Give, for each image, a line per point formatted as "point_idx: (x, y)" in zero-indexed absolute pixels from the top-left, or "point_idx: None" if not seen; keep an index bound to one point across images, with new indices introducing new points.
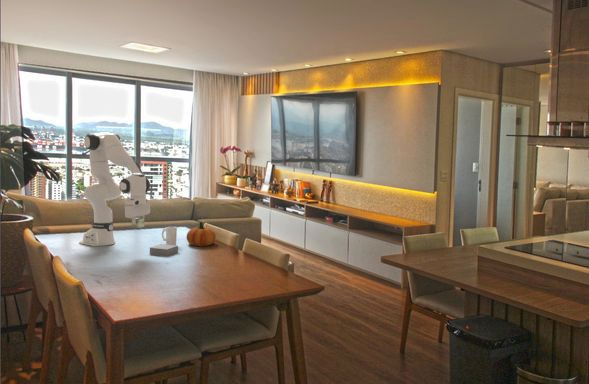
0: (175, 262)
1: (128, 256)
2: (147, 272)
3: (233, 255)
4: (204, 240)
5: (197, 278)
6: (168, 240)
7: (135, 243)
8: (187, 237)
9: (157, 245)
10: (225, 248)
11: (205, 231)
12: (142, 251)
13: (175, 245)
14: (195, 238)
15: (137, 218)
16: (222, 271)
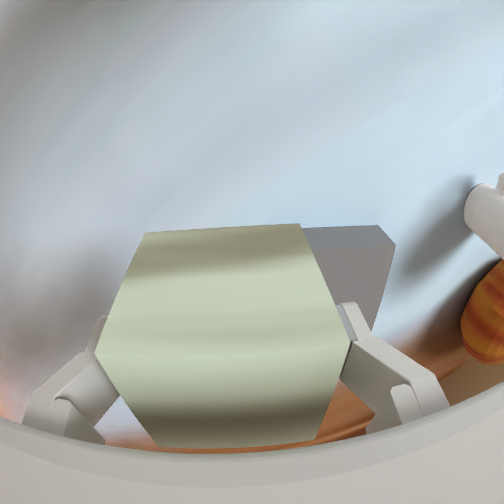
0: None
1: (140, 163)
2: (48, 371)
3: (349, 423)
4: (465, 346)
5: (110, 441)
6: (483, 220)
7: (469, 5)
8: (501, 287)
9: (346, 254)
10: (436, 372)
11: (494, 361)
12: (311, 143)
13: (372, 324)
14: (473, 330)
15: (240, 400)
16: None
